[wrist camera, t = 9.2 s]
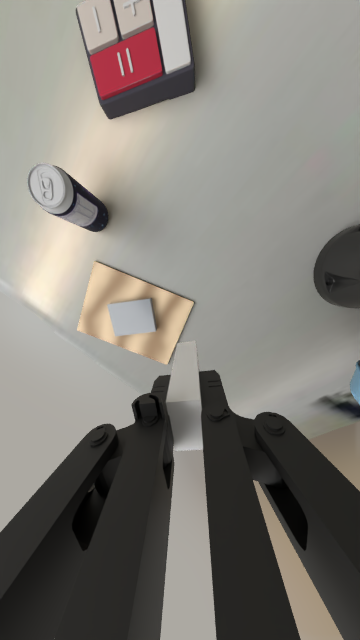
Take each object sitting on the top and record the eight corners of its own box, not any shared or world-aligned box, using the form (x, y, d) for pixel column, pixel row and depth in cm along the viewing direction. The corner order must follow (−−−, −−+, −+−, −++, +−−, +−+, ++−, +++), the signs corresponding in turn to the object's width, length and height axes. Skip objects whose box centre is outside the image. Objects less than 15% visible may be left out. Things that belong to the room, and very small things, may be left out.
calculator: (70, -2, 23) (177, -59, 21) (89, 40, 27) (181, -4, 25) (97, 101, 26) (195, 61, 23) (111, 125, 30) (195, 92, 28)
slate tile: (149, 298, 34) (107, 304, 35) (155, 331, 36) (115, 336, 37) (151, 297, 36) (110, 303, 37) (157, 328, 38) (118, 333, 38)
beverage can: (110, 201, 32) (66, 161, 21) (110, 234, 34) (69, 214, 22) (81, 198, 32) (20, 156, 21) (82, 231, 34) (26, 208, 22)
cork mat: (194, 301, 36) (194, 302, 36) (167, 363, 40) (167, 364, 40) (95, 261, 35) (94, 261, 34) (78, 329, 39) (77, 330, 39)
